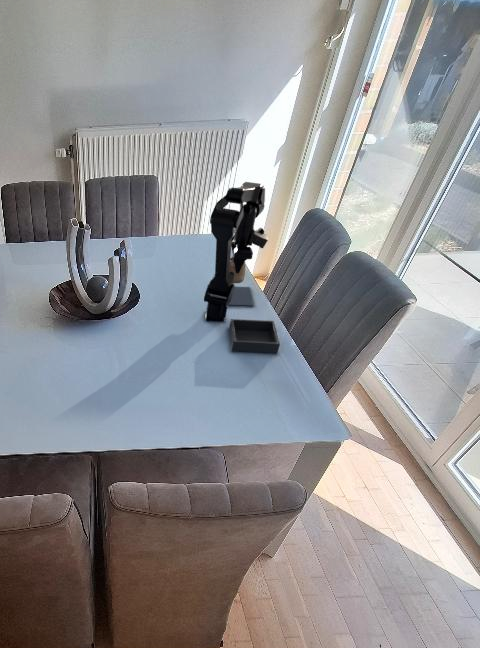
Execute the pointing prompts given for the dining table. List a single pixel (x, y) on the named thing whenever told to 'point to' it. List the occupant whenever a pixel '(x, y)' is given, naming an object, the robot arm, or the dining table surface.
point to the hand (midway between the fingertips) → (236, 268)
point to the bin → (253, 336)
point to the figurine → (237, 276)
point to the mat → (240, 297)
